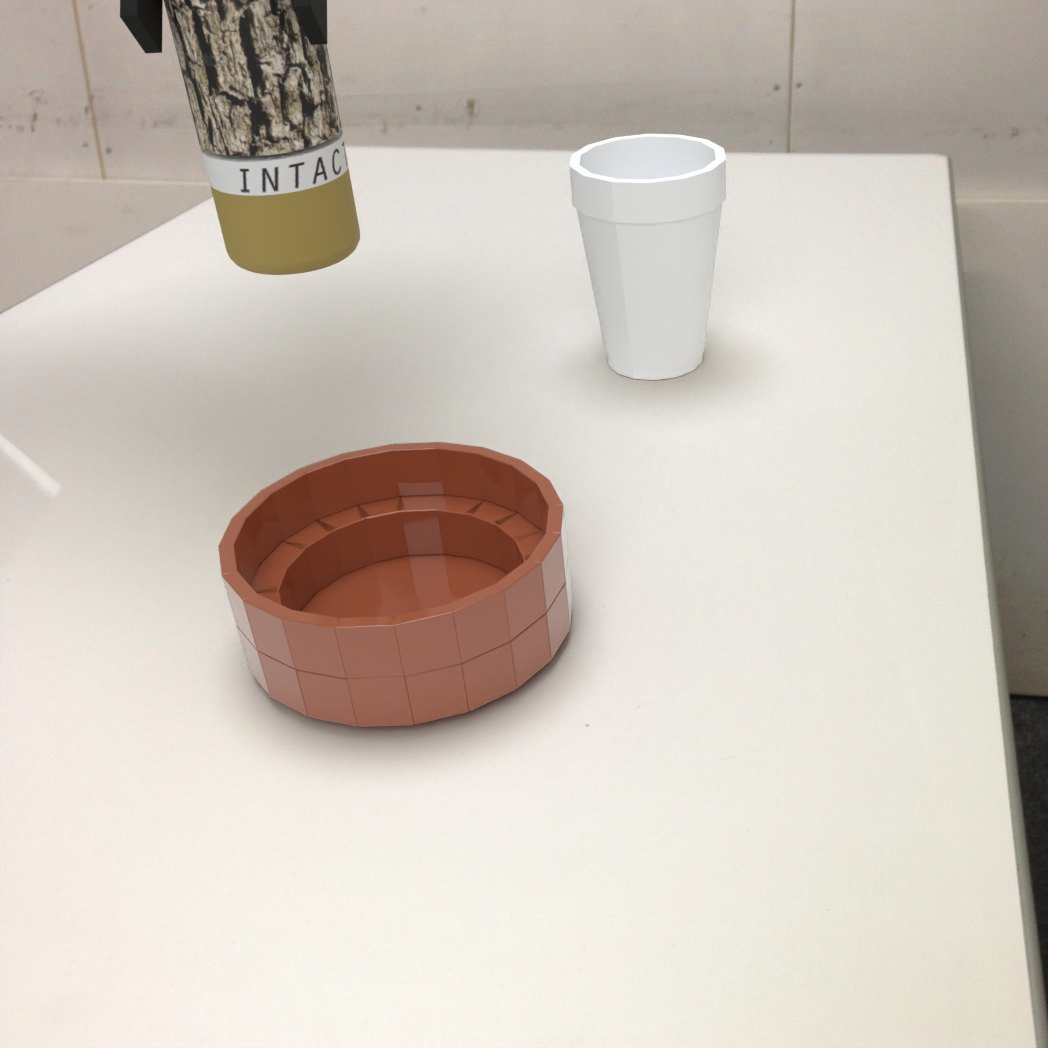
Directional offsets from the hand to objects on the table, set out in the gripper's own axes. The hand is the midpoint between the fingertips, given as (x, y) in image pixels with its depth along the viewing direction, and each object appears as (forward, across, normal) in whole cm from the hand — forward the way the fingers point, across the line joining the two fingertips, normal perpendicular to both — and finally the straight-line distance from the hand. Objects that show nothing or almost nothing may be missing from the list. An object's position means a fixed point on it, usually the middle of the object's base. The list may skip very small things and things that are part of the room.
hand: (226, 30), depth 56 cm
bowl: (+26, -6, -9) cm, 28 cm away
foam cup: (+5, -18, -30) cm, 35 cm away
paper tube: (+6, 0, -11) cm, 12 cm away
